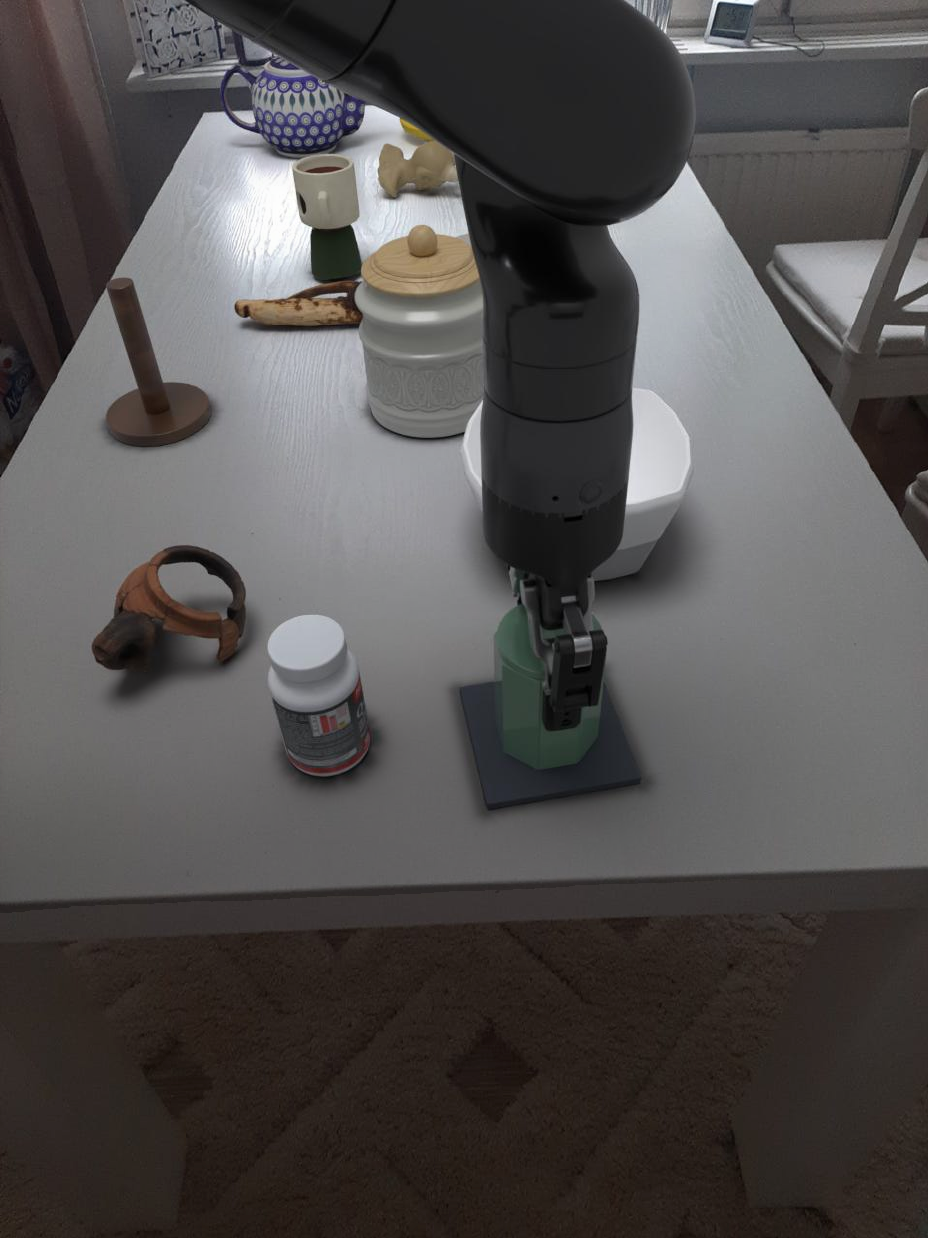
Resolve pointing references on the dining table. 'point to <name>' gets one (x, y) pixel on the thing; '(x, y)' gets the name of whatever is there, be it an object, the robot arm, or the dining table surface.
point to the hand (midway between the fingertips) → (547, 682)
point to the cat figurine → (416, 167)
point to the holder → (149, 384)
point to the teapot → (296, 109)
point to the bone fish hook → (306, 307)
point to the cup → (533, 700)
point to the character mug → (329, 213)
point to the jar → (422, 334)
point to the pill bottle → (317, 696)
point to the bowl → (651, 486)
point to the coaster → (522, 783)
